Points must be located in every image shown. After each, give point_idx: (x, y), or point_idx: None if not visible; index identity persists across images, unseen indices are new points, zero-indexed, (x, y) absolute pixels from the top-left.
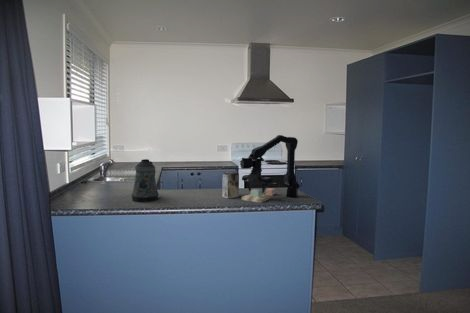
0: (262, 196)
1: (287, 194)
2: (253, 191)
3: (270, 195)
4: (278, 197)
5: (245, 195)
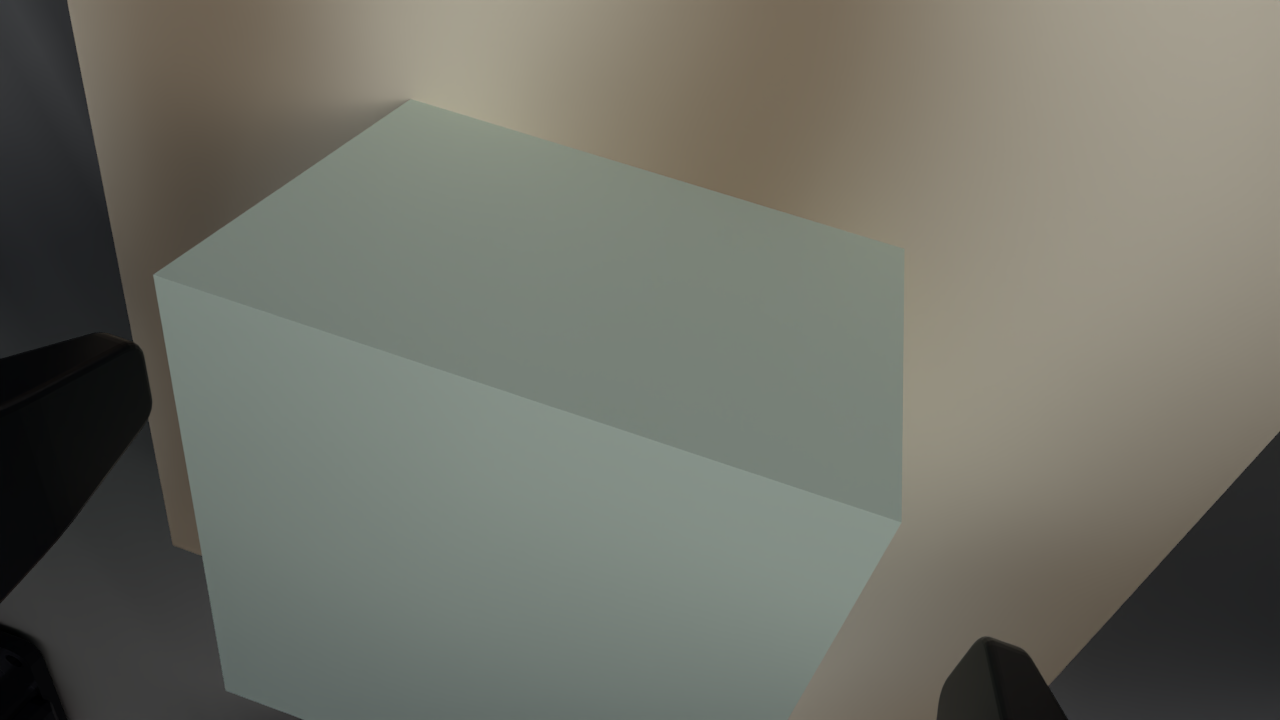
0: None
1: (7, 708)
2: (635, 376)
3: (169, 527)
4: (139, 582)
5: (1263, 383)
